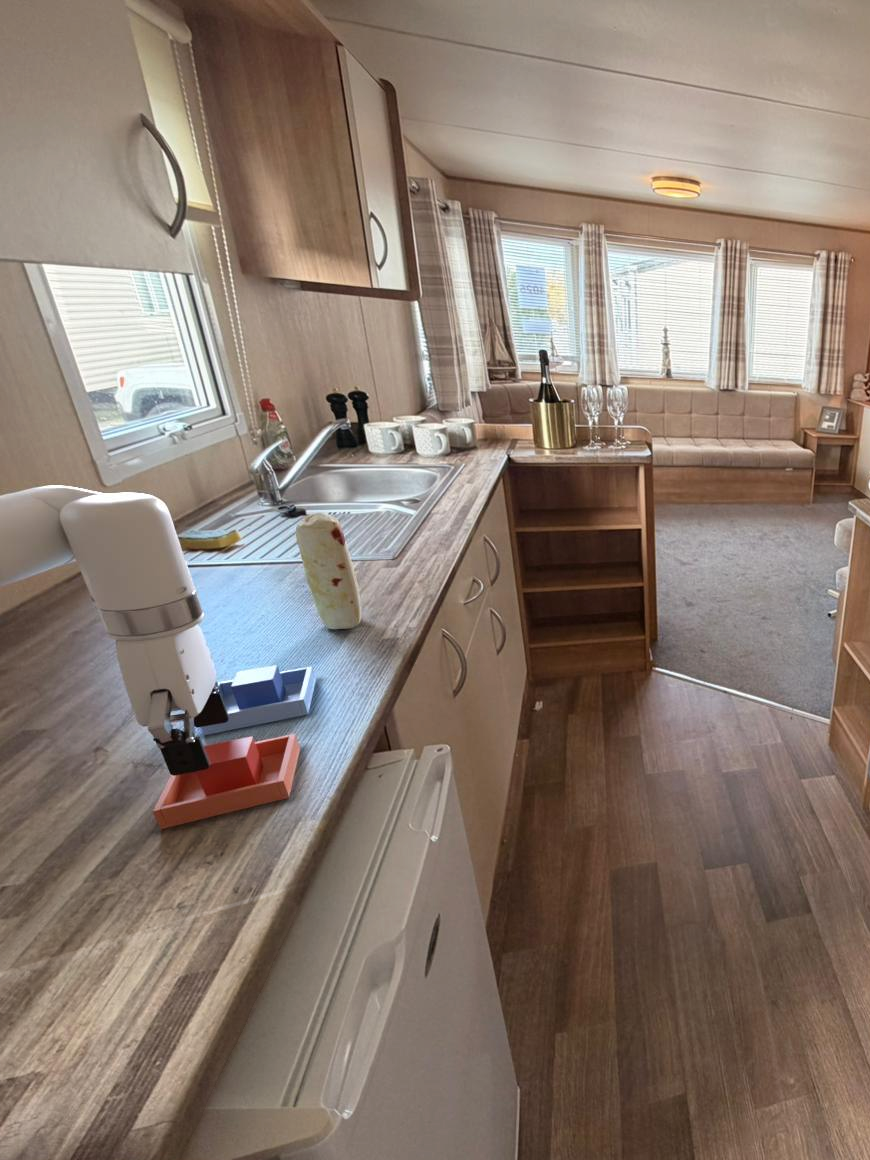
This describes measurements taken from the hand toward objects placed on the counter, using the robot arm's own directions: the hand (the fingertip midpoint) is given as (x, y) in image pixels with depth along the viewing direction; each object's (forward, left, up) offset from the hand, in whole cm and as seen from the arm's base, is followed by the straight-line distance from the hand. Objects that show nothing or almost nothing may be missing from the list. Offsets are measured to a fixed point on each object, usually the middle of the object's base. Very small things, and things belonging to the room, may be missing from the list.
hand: (202, 746), depth 74 cm
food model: (+10, +43, -5) cm, 45 cm away
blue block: (+2, +17, -5) cm, 18 cm away
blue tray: (+2, +17, -5) cm, 18 cm away
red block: (+2, -2, -5) cm, 6 cm away
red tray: (+2, -2, -5) cm, 6 cm away
